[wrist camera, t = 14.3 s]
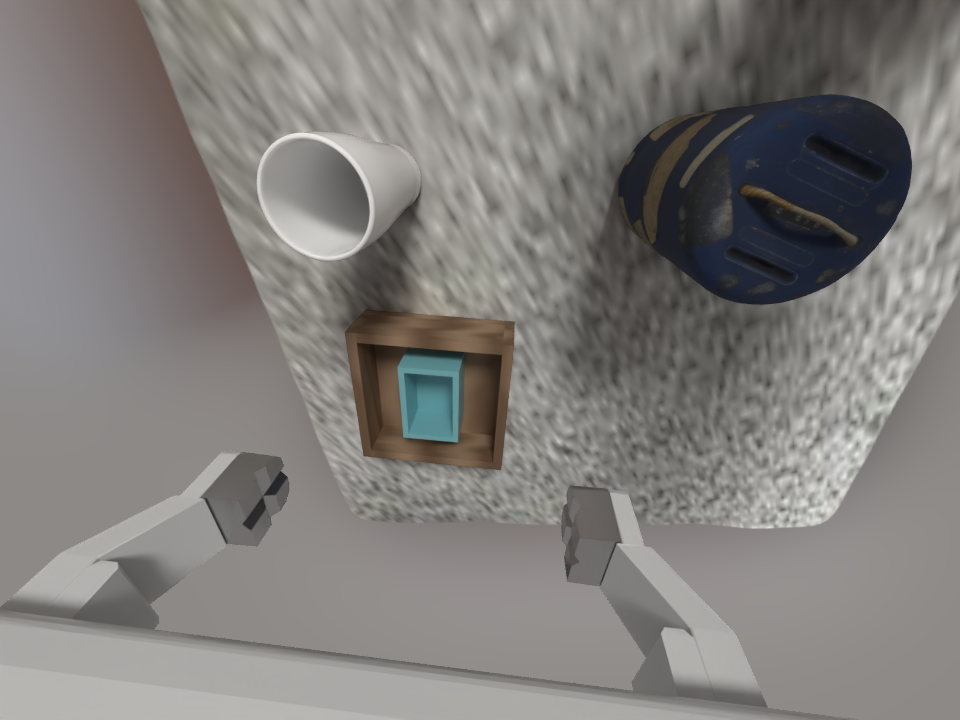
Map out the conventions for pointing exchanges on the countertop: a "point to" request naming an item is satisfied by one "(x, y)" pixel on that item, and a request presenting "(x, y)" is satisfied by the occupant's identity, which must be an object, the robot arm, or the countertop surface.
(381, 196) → the white cup
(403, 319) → the walnut crate
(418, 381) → the teal crate
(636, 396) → the countertop surface
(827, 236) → the canister
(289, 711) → the robot arm
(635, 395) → the countertop surface
